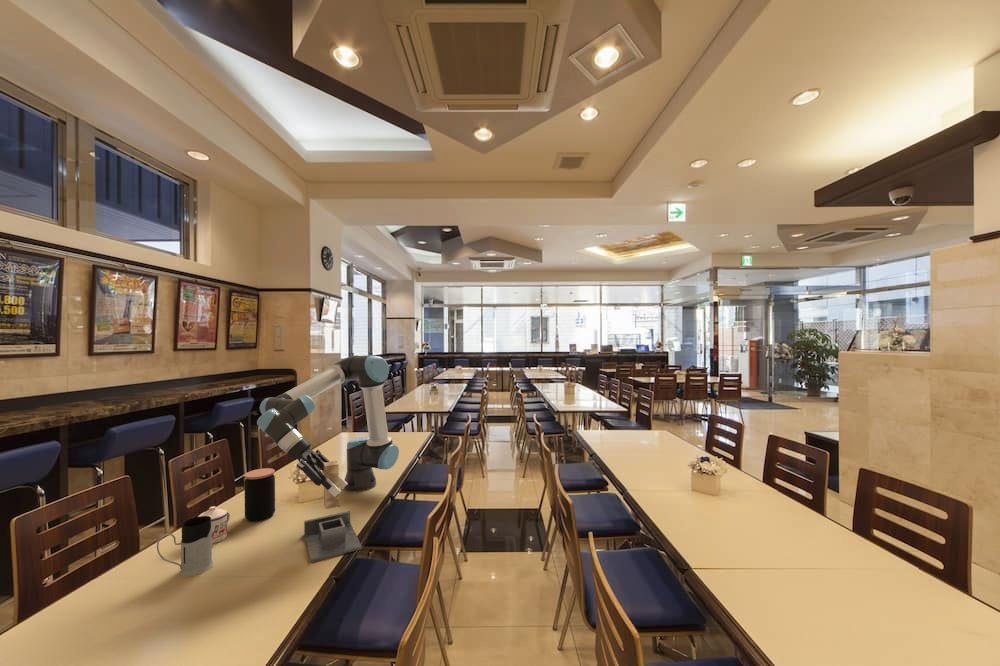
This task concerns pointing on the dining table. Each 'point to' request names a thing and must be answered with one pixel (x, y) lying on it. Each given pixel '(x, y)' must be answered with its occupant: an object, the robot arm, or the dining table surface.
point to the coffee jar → (259, 494)
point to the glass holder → (194, 546)
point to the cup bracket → (330, 536)
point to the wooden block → (333, 475)
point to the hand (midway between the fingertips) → (341, 490)
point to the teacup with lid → (218, 523)
